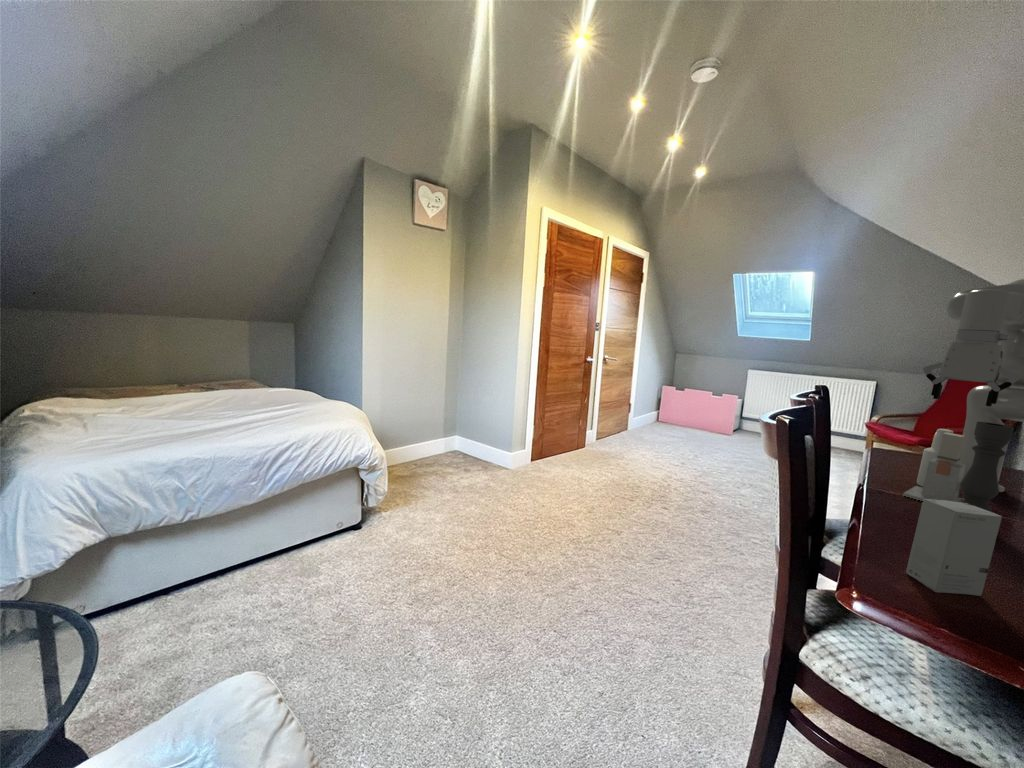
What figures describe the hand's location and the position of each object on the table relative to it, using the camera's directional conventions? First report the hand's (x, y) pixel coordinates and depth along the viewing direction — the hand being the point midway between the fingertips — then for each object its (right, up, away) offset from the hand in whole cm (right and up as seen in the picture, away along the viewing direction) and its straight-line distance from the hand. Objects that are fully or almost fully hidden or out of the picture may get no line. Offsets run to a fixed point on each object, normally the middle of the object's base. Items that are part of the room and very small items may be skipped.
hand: (961, 402), depth 109 cm
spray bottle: (+8, -27, +15) cm, 32 cm away
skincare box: (-43, -31, -36) cm, 64 cm away
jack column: (-1, -26, +4) cm, 27 cm away
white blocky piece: (-2, -28, +4) cm, 28 cm away
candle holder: (-9, -30, -10) cm, 32 cm away
